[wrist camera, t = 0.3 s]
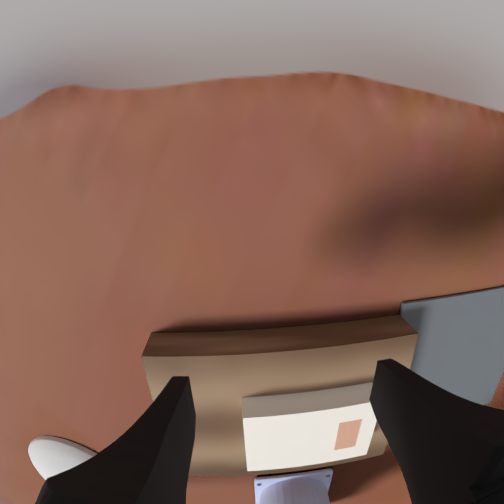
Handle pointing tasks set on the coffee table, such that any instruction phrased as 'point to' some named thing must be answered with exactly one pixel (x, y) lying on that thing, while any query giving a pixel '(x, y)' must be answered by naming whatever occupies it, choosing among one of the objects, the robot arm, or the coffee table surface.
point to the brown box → (269, 377)
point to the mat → (460, 342)
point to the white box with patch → (307, 427)
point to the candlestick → (56, 455)
